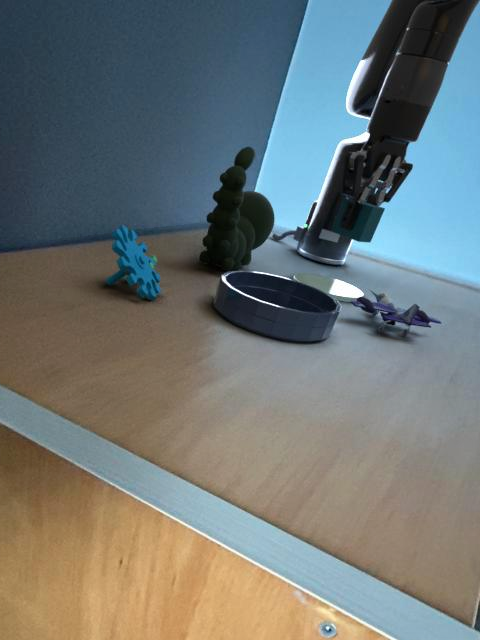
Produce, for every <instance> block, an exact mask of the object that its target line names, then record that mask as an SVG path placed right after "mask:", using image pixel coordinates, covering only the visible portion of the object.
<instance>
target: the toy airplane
mask: <svg viewBox="0 0 480 640" xmlns="http://www.w3.org/2000/svg"><path fill="white" fill-rule="evenodd" d="M369 291H370V292H371V293H372V294H373V295H374V297H375V300H376V301H377V302H375V301H372V300H370V299H368V298H366V297H364V296H363V297H362V296H360V297H358V298H357V301H352V302H350V304H351V305H352V306H354V307H356V308H359V309H361V310H362V311H363V312H365V313H368V314H371V317H372V318H374V317H376V316H377V315H379V314H380V317H381V320H382V322H381V324H380V325H379V326H378V329H377V330H378V332H379V333H382V332H383V331H385V325H384V324H386V325H388V326H389V325H390V326H395V325H396V323H399V324H403V325H405V326H406V327H408V328H405V329H404V330H403V331H402V336H403V338H404V337H408V335H409V333H410V329H411V326H413V327H414V326H415V327H423V328H429V329H431V328H432V325H430V323H432V324H433V323H434V324H438V325H439V324H442V321H441V320H440V319H438V318H437V317H433V316H429V315H428V314H427V313H426V312H425V311H424V310H421V309H420V306H419V305H418V304H417V303H413V304H412V305H411V306H410V307H409V308H407V309H405V308H401V307H398V306H396V305H395V304H394V303H393V301H392V300H391V298H390V297H389V295H388V294H387V293H385V292H382V293H379V294H378V293H375V292H374V291H373V290H371V289H369Z"/></svg>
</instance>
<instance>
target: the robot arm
mask: <svg viewBox="0 0 480 640" xmlns="http://www.w3.org/2000/svg"><path fill="white" fill-rule="evenodd" d="M479 3H480V0H391V1H390V4H389V6H388V8H387V10H386V12H385V13H384V15H383V17H382V19H381V21H380V24H379V25H378V27H377V29H376V31H375V33H374V35H373V36H372V38H371V41H370V42H369V44H368V46H367V48H366V50H365V52H364V54H363V56H362V58H361V60H360V62H359V64H358V66H357V68H356V70H355V72H354V74H353V76H352V79H351V81H350V85H349V87H348V90H347V94H346V100H345V101H346V102H345V106H346V110H347V112H348V113H349V114H350V115H352V116H354V117H358V118H363V119H367V120H368V122H367V125H366V128H365V131H366V132H364V133H362V134H360V135H359V136H355V137H352V138H347V139H343V140H342V141H340V142H339V144H338V145H337V148H336V149H335V153H334V156H333V158H332V161H331V164H330V167H329V169H328V172H327V175H326V177H325V180H324V183H323V186H322V188H321V191H320V193H319V197H318V199H317V200H314V201H313V202H312V204H311V207H310V210H309V212H308V215H307V218H306V221H305V223H304V225H303V226H301V225H297V226H296V229H295V230H294V229H292V230H287V231H284V232H283V233H282V234H281V235H279V234H277V233H273V234H272V236H271V237H272V238H273V239H274V240H276V241H281V240H284V239H285V238H287V237H288V236H293V238H292V240H294V241H297V242H298V243H297V245H296V247H295V252H297V253H298V254H299V255H301V256H302V257H304V258H306V259H309V260H312V261H314V262H318V263H321V264H326V265H333V266H343V265H344V264H345V261H346V258H347V255H348V253H349V251H350V249H351V246H352V243H353V241H354V240H353V239H350V238H347V237H345V236H342V235H339V234H337V233H334V232H331V229H332V226H333V223H334V221H335V218H336V216H337V213H338V210H339V208H340V205H341V203H342V200H343V198H347V200H348V204H347V206H346V209H345V211H344V214H343V217H342V219H341V224H340V227H341V228H344V229H347V230H352V229H353V228H354V225H355V223H356V221H357V218H358V216H359V213H360V211H361V208H362V206H363V205H361V204H362V203H363V202H366V203H370V204H373V205H376V206H379V207H381V206H382V205H383V204H384V203H390V202H391V200H392V199H393V197H394V196H395V194H396V193H397V192H398V190H399V189H400V187H401V186H402V184H403V183H404V182H405V180H406V179H407V178H408V176H409V175H410V173H411V171H412V170H413V168H414V164H413V163H411V162H407V160H406V156H407V151H408V147H409V145H410V144H414V143H416V142H417V141H418V140H419V139H420V135H421V134H422V131H423V129H424V127H425V124H426V122H427V120H428V119H429V115H430V113H431V110H432V108H433V106H434V104H435V102H436V99H437V97H438V94H439V92H440V90H441V88H442V85H443V82H444V79H445V76H446V73H447V71H448V70H447V69H448V67H449V64H450V62H451V60H452V58H453V55H454V53H455V51H456V48H457V45H458V43H459V41H460V39H461V37H462V34H463V33H464V30H465V28H466V26H467V24H468V22H469V20H470V18H471V17H472V14H473V13H474V11H475V10H476V7H477V6H478V5H479Z"/></svg>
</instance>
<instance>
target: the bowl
mask: <svg viewBox="0 0 480 640" xmlns="http://www.w3.org/2000/svg"><path fill="white" fill-rule="evenodd" d="M216 288H217V289H216V291H215V295H214V298H213V305H214V308H215V309H216V310H217V311H218V312H219V313H220V315H221V316H223V317H224V318H225V319H226V320H228V321H229V322H231V323H233V324H234V325H236V326H238V327H241V328H243V329H245V330H247V331H249V332H253V333H255V334H257V335H258V334H259V335H261V336H265V337H269V338H272V339H277V340H281V341H286V342H287V341H288V342H294V343H295V342H297V343H311V342H312V343H313V342H317V341H322V340H325V339H327V338H329V337H330V335H331V334H332V331H333V328H334V326H335V324H336V322H337V319H338V317H339V315H340V312H341V310H342V308H343V306H342V304H341V303H340V301H337V300H336V299H334V298H333V297H332V296H330V295H329V294H327V293H325V292H323V291H321V290H319V289H316V288H314V287H312V286H309V285H306V284H304V283H301V282H298V281H295V280H293V278H292V279H291V278H289V277H284V276H280V275H276V274H271V273H267V272H261V271H253V270H240V271H230V270H229V271H225V272H224V273H223V274H222V275H220V278H219V281H218V285H217V287H216Z"/></svg>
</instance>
